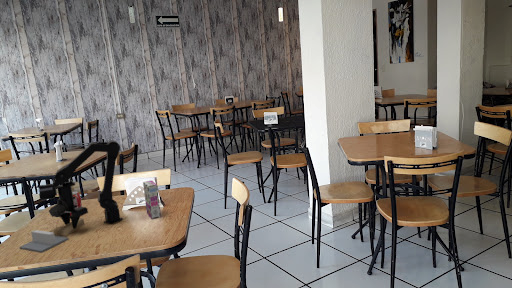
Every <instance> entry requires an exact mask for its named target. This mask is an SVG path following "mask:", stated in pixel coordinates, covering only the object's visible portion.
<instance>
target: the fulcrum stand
mask: <svg viewBox="0 0 512 288" xmlns="http://www.w3.org/2000/svg"><path fill="white" fill-rule="evenodd" d="M30 233H31V238H32V240H31V241H28V242H27V243H25V244H22V245H20V246H19V249H21V250H27V251H31V252H36V253H41V254H42V253H44V252H46V251H48V250H50V249H52V248H54V247H57V246H59V245H60V244H62V243H64V242H66V241H68V240H69V237H67V236H66V237H60V236H59V235H55V232H51V231H46V230H45V231H43V230H37V229H35V230H32V231H31V232H30Z"/></svg>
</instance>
